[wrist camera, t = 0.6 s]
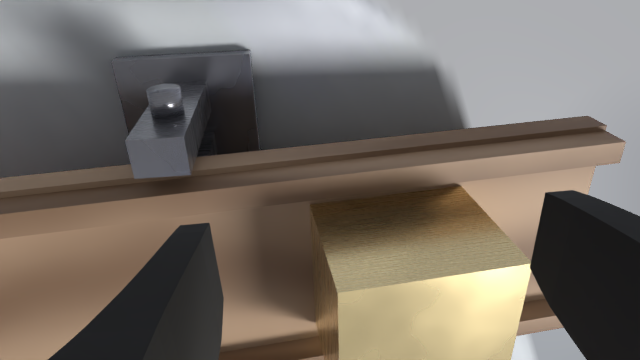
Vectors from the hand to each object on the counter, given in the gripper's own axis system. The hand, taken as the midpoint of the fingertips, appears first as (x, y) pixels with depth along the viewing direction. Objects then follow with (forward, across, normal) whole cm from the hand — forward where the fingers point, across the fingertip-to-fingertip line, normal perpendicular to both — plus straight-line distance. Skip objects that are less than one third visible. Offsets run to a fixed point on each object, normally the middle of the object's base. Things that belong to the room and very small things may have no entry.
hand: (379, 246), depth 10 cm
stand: (+10, +6, +5) cm, 13 cm away
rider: (+6, -1, +5) cm, 8 cm away
